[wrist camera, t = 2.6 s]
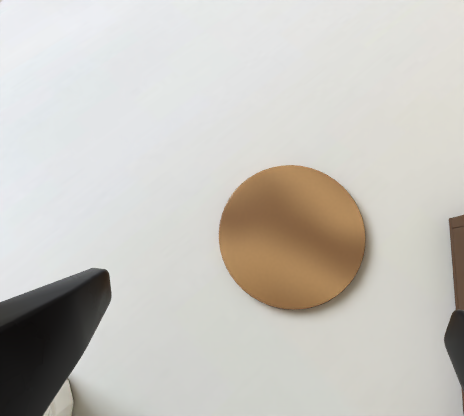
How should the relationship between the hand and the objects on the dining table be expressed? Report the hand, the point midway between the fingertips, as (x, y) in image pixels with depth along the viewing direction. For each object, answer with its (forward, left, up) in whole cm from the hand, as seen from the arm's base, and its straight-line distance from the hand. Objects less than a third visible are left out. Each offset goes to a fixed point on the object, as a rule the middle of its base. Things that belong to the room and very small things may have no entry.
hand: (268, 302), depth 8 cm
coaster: (+3, -2, -15) cm, 16 cm away
